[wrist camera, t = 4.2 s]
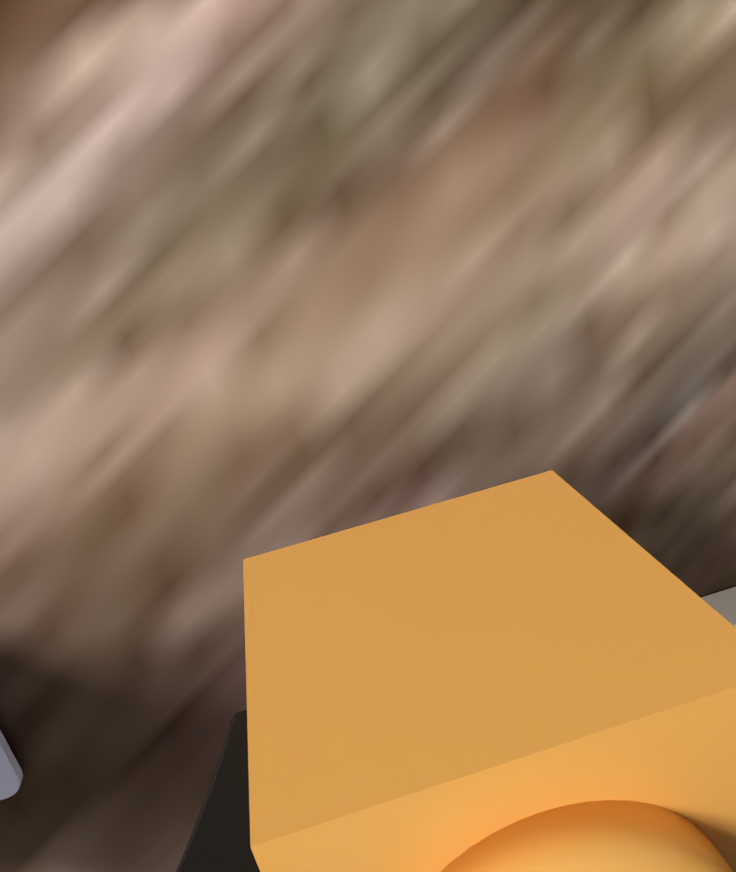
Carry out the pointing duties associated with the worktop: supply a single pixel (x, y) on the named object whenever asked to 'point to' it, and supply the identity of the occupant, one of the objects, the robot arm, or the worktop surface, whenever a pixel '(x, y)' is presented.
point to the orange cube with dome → (487, 697)
